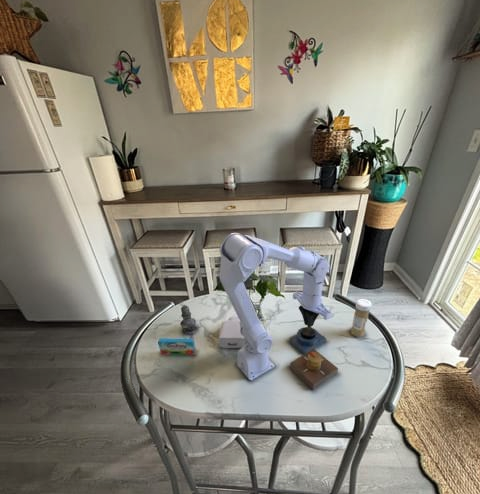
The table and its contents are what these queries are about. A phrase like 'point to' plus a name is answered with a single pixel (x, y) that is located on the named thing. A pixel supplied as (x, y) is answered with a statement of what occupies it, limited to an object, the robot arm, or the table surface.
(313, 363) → the dial
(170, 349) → the blue printed cardboard box
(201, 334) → the table surface
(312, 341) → the button box
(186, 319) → the grey stone statuette
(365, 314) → the sprinkles bottle
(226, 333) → the charger
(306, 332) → the button
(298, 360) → the brown square block
